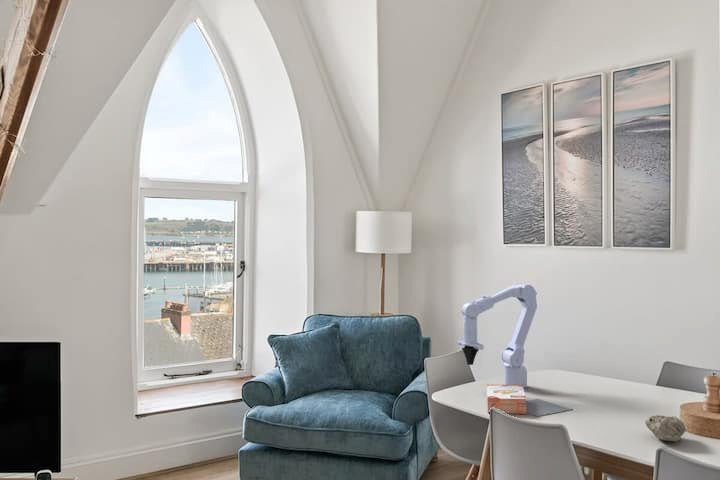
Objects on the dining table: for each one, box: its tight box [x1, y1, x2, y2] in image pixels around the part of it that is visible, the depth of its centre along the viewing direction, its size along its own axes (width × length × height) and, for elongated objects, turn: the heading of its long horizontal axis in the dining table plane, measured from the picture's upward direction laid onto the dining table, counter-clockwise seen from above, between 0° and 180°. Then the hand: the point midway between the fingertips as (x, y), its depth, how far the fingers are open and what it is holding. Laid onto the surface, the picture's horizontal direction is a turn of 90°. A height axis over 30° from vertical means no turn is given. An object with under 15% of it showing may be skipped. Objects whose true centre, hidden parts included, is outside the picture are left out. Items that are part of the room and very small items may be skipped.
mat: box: [526, 398, 574, 418], centre depth 252 cm, size 18×18×1 cm
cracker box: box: [486, 383, 527, 414], centre depth 253 cm, size 14×6×21 cm
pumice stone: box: [645, 414, 687, 443], centre depth 212 cm, size 14×12×8 cm
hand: (470, 364), depth 281 cm, fingers closed
